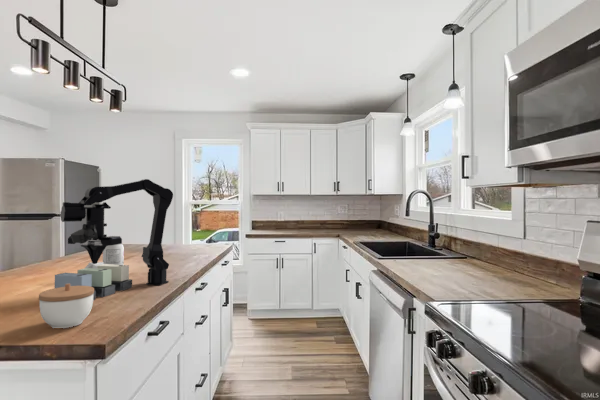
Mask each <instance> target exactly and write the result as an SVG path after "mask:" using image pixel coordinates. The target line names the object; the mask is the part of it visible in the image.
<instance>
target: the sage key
mask: <svg viewBox="0 0 600 400" xmlns="http://www.w3.org/2000/svg"><path fill="white" fill-rule="evenodd" d="M77 273H79V274H92V284H91V286H96V287H105V286H108V285H111V273H112V269H95V268H85V267H84V268H80V269H77Z"/></svg>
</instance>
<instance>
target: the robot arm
mask: <svg viewBox="0 0 600 400" xmlns="http://www.w3.org/2000/svg"><path fill="white" fill-rule="evenodd" d="M142 190H143V191H145V192H146V193H147V195H150V196H151V197H152V204H153V207H154V213H153V218H152V225H151V232H150V237H149V243H148V245H147V246H143V247H142V254H141V258H142V261H143V263H144V264H145V265H146V266H147V268H148V272H147V282H146V283H145V285H148V286H149V285H150V286H151V285H152V286H162V285H165V284H168V283H169V280H167V270H168V268H169V266H170V263H168V261H166V260H165V259H164V250H163V246H162V245H163V244H162V243H163V236H164V230H165V223H166V217H167V211H168V208H170V205H171V203H172V200H173V197H174V194H173V191H172V190H171V189H170V188H167V187H166V188H165V187H163V186H162V185H159V184H157V183H155V182H153V181H152V180H151V179H148V178H144V179H141V180H138V181H132V182H127V183H123V184H118V185H111V186H110V185H109V186H91V187H88V188H87V189H86V190H85V193H84V196H83V198H82V199H81V200H79V202H67V201H65V202H62V207H61V210H60V221H61V222H62V223H69V222H82V221H83V220H84V219H86V220H85V223H83V224H82V229H78V230H76V231H74V232H73V233H71V234H70V236H69V237H68V238H67V244H68V245H75V244H77V243H78V244H80V247H83V248H84V249H85V250H86V252H87V253H88V255H89V259H90V261H91V263H93V264H96V263H97V262H99V260H100V258H101V257H102V255H103V251H104V249H105V248H106V246H109V245H117V244H123V239H122V236H120V235H119V236H118V235H110V236H107V234H105V227H107V225H108V224H107V223H105V210H106V209H111V206H110V205H109V204H108V203H107V202H106V201H107V200H109V199H112V198H113V197H116V196H120V195H125V194H129V193H133V192H138V191H142ZM95 203H97V204H95ZM98 203H99V204H98Z"/></svg>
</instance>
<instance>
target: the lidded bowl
mask: <svg viewBox="0 0 600 400" xmlns="http://www.w3.org/2000/svg"><path fill="white" fill-rule="evenodd" d="M93 297H94V288H93V287H90V286H70V284H65V287H59V288H55V287H54V288H51V289H47V290H44V291H42V292H40V293H39V294H38V300H39V302H38V303H39V304H38V305H39V311H40V316H41V318H42V320H43V321H44V323H46V324H47V325H49V326H50V328H51V327H52V329H54V328H63V329H70V328H74V327H78V326H79V325H81V324H83V321H84V320H86V318H87V317H88V316H89V314H90V313H91V310H92V308H93V305H94V300H93ZM73 326H74V327H73ZM69 327H70V328H69Z"/></svg>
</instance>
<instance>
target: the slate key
mask: <svg viewBox="0 0 600 400" xmlns="http://www.w3.org/2000/svg"><path fill="white" fill-rule="evenodd" d="M65 284H70V286H90V287H91V284H92V274H79V273H76V272H75V273H74V272H62V273H58V274H54V288H59V287H65Z"/></svg>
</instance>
